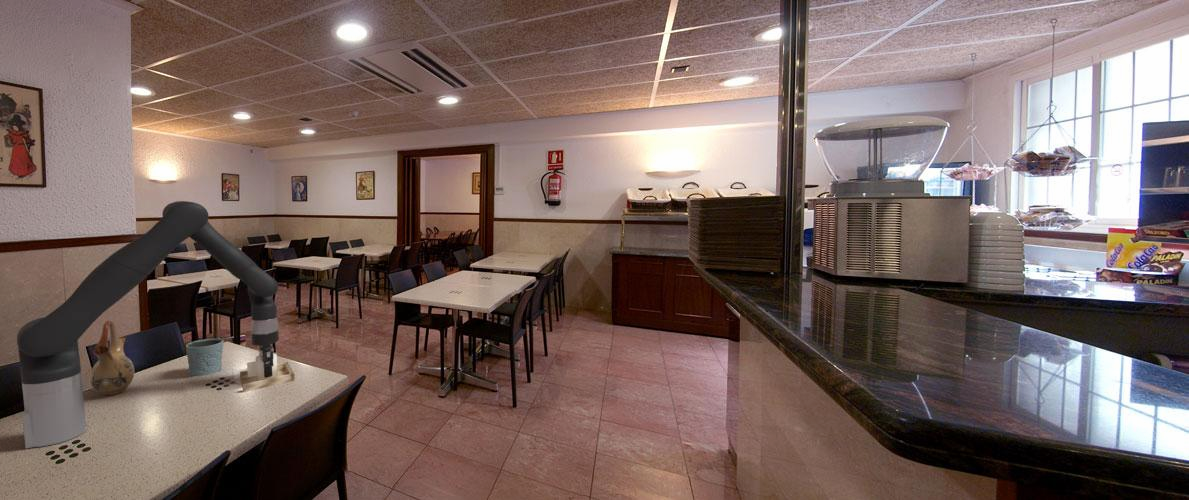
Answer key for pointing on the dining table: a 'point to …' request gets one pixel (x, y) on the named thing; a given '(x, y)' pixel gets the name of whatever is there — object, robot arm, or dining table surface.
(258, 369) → the cream jug
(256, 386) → the beech holder
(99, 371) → the ceramic vessel
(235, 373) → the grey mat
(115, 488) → the dining table surface
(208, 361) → the teal plant pot
